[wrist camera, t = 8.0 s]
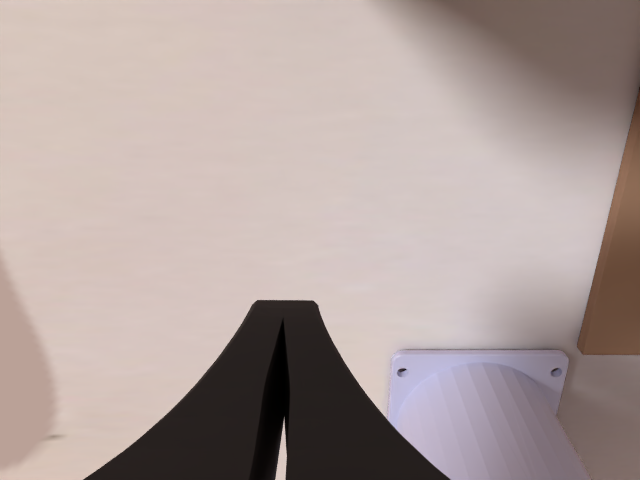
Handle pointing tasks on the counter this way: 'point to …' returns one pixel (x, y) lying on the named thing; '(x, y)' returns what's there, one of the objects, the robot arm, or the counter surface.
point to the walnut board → (618, 265)
